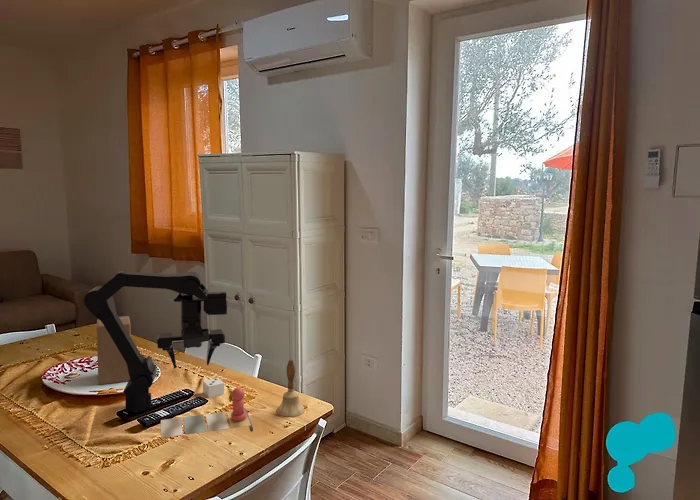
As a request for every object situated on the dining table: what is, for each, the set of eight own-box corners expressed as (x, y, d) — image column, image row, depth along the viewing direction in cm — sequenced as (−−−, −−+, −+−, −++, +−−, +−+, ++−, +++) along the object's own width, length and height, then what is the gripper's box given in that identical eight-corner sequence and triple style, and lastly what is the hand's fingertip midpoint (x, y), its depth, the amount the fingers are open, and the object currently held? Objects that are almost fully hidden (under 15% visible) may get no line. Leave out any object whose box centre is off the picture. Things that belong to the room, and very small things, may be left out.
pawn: (232, 422, 139) (232, 392, 138) (230, 416, 143) (229, 386, 141) (246, 420, 141) (246, 390, 139) (244, 414, 144) (243, 384, 143)
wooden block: (131, 381, 167) (130, 323, 164) (98, 385, 162) (96, 326, 160) (130, 370, 176) (129, 315, 173) (98, 374, 171) (96, 317, 168)
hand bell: (282, 419, 145) (283, 366, 143) (272, 407, 152) (274, 357, 150) (308, 414, 149) (310, 363, 147) (298, 402, 156) (299, 353, 154)
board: (159, 444, 129) (159, 439, 129) (159, 422, 140) (159, 418, 140) (252, 430, 138) (252, 426, 137) (245, 411, 149) (245, 407, 148)
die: (208, 401, 154) (208, 386, 154) (202, 395, 158) (202, 380, 158) (224, 398, 157) (224, 382, 156) (218, 392, 161) (218, 377, 160)
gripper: (157, 325, 135) (157, 380, 137) (227, 321, 142) (227, 373, 144) (157, 314, 145) (157, 365, 147) (222, 310, 152) (222, 359, 154)
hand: (191, 366), depth 148 cm, fingers open, 9 cm apart
